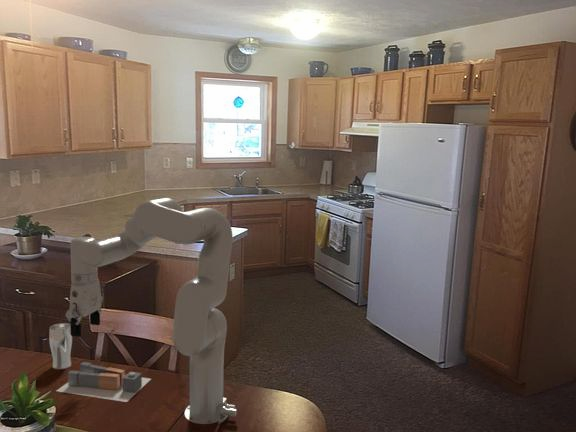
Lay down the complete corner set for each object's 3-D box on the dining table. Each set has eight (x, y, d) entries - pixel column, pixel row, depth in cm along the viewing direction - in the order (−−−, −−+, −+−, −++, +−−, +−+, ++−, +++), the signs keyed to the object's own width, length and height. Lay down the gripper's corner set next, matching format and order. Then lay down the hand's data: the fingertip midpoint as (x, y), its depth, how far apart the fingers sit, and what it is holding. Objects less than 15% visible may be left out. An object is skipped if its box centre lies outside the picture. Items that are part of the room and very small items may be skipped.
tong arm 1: (119, 386, 154) (119, 374, 153) (117, 389, 152) (116, 377, 151) (71, 382, 155) (71, 370, 155) (68, 385, 154) (67, 372, 153)
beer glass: (64, 374, 164) (62, 331, 162) (46, 372, 165) (44, 329, 163) (77, 365, 171) (76, 324, 168) (59, 363, 172) (57, 322, 170)
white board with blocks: (151, 382, 160) (151, 364, 159) (126, 405, 146) (126, 386, 145) (85, 372, 165) (85, 355, 164) (55, 394, 151) (55, 375, 150)
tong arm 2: (125, 382, 156) (125, 370, 156) (121, 385, 155) (121, 372, 154) (84, 373, 161) (83, 361, 161) (80, 376, 160) (79, 364, 159)
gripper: (77, 286, 142) (79, 342, 145) (111, 271, 159) (112, 321, 162) (54, 283, 144) (56, 339, 147) (90, 269, 161) (91, 319, 163)
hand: (85, 330), depth 154 cm, fingers open, 9 cm apart
